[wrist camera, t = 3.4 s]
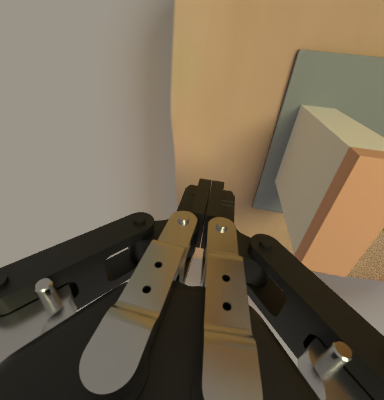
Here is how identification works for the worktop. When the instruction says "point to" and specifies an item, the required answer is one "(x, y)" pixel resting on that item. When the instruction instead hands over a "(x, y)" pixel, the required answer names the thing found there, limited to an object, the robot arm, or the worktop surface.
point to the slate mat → (323, 104)
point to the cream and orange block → (331, 189)
